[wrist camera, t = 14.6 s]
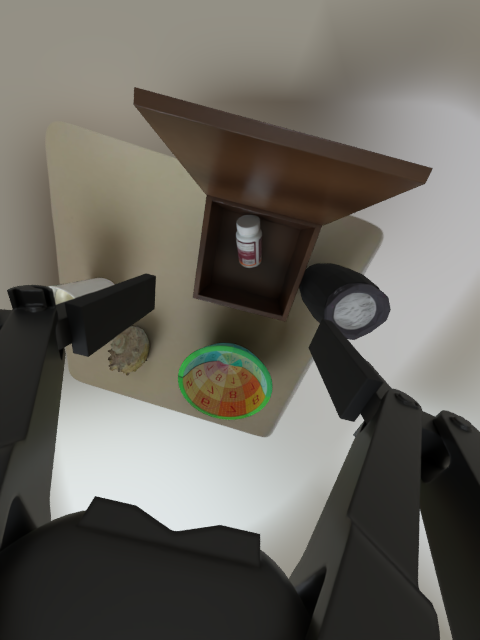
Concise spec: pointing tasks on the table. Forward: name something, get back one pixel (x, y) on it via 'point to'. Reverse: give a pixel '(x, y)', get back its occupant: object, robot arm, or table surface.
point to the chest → (257, 282)
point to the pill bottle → (249, 241)
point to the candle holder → (78, 288)
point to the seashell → (129, 350)
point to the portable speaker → (344, 299)
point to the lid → (274, 162)
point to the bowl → (225, 381)
